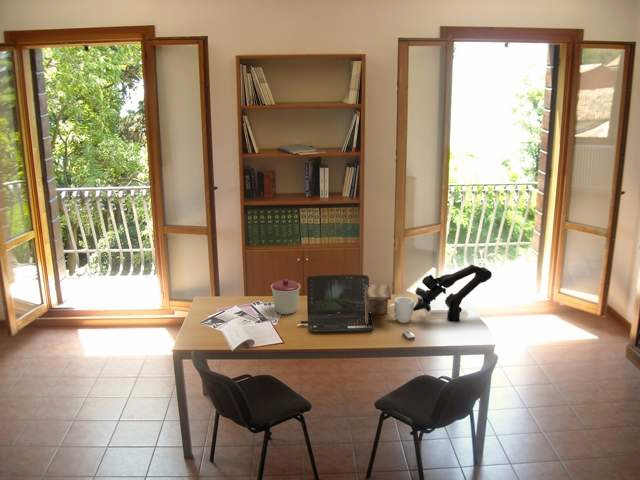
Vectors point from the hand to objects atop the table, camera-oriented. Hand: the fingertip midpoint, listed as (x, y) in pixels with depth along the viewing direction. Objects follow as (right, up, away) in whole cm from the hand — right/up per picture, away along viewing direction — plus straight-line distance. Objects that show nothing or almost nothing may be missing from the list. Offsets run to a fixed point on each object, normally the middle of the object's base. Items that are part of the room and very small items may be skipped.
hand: (413, 310), depth 358 cm
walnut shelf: (-21, -6, +4) cm, 22 cm away
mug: (-7, -7, +2) cm, 10 cm away
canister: (-76, -2, +15) cm, 78 cm away
